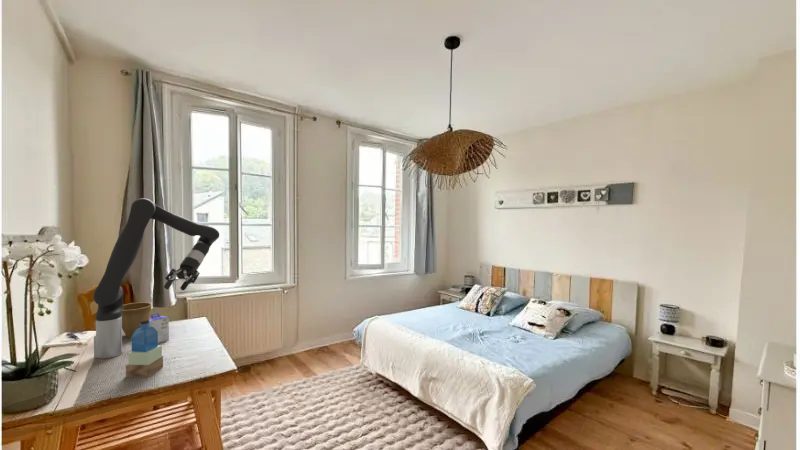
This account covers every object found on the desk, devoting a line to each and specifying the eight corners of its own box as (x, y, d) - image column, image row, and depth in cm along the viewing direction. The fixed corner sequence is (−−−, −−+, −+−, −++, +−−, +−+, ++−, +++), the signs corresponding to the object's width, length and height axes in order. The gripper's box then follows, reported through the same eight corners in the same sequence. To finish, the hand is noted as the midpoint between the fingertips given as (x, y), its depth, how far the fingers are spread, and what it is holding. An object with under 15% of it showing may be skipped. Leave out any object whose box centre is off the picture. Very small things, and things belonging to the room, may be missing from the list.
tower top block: (128, 364, 140) (128, 352, 140) (143, 356, 148) (142, 345, 148) (148, 364, 140) (148, 352, 140) (161, 356, 148) (161, 345, 148)
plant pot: (115, 334, 187) (115, 305, 186) (149, 328, 197) (149, 301, 197) (118, 342, 176) (117, 311, 176) (153, 335, 186) (153, 306, 186)
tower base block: (125, 377, 140) (125, 365, 140) (141, 367, 149) (141, 356, 149) (148, 377, 140) (148, 365, 140) (163, 367, 149) (162, 355, 149)
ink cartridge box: (164, 337, 183) (164, 310, 183) (169, 340, 180) (169, 312, 180) (143, 343, 175) (142, 315, 174) (148, 345, 172) (147, 317, 172)
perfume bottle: (145, 352, 141) (145, 322, 140) (131, 351, 141) (131, 322, 141) (157, 346, 147) (157, 318, 146) (144, 345, 147) (143, 317, 147)
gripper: (175, 255, 169) (155, 283, 158) (201, 257, 167) (182, 285, 156) (184, 265, 175) (165, 292, 164) (209, 266, 172) (191, 294, 161)
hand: (173, 288), depth 160 cm, fingers open, 8 cm apart
